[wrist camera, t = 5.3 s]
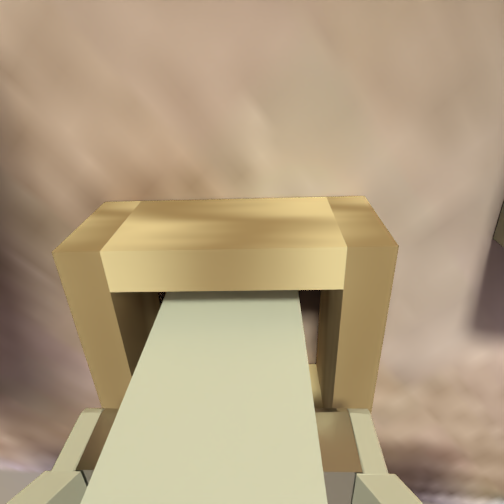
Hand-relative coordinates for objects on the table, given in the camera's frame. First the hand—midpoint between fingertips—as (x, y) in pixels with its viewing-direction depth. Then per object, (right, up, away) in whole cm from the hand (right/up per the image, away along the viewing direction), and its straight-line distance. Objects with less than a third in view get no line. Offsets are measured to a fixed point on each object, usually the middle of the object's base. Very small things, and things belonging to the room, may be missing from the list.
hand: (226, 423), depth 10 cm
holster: (0, +2, +5) cm, 5 cm away
